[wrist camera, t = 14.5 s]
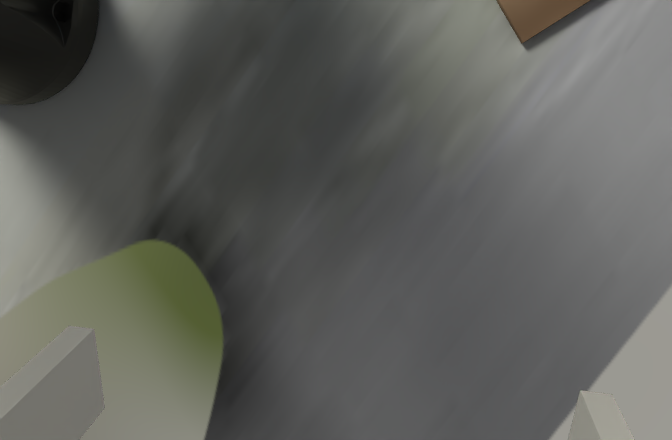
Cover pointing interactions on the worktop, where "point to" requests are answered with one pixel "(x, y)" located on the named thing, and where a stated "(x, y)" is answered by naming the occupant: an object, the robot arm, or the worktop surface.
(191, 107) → the worktop surface
